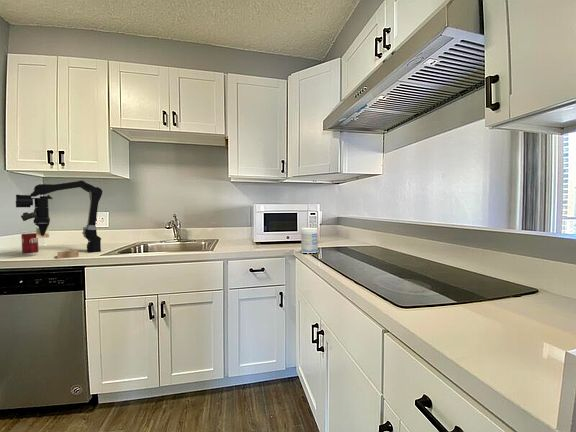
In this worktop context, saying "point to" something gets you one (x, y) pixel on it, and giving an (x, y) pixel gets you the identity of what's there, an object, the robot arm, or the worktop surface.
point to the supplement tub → (309, 240)
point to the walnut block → (68, 254)
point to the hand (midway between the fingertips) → (42, 235)
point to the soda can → (29, 243)
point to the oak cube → (38, 234)
